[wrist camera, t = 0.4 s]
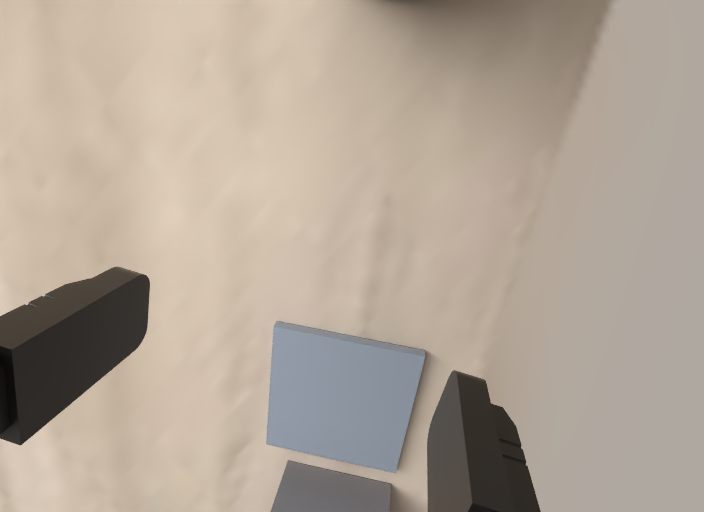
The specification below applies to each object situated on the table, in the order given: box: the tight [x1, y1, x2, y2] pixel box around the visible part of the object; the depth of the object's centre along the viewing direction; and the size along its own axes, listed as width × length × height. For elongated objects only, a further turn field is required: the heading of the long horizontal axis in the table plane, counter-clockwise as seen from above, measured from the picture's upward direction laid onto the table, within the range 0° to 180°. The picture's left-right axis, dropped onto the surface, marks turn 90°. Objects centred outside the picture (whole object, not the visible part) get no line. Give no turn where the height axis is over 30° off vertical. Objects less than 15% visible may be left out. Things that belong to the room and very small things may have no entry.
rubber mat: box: [266, 321, 425, 473], centre depth 34 cm, size 13×12×1 cm
